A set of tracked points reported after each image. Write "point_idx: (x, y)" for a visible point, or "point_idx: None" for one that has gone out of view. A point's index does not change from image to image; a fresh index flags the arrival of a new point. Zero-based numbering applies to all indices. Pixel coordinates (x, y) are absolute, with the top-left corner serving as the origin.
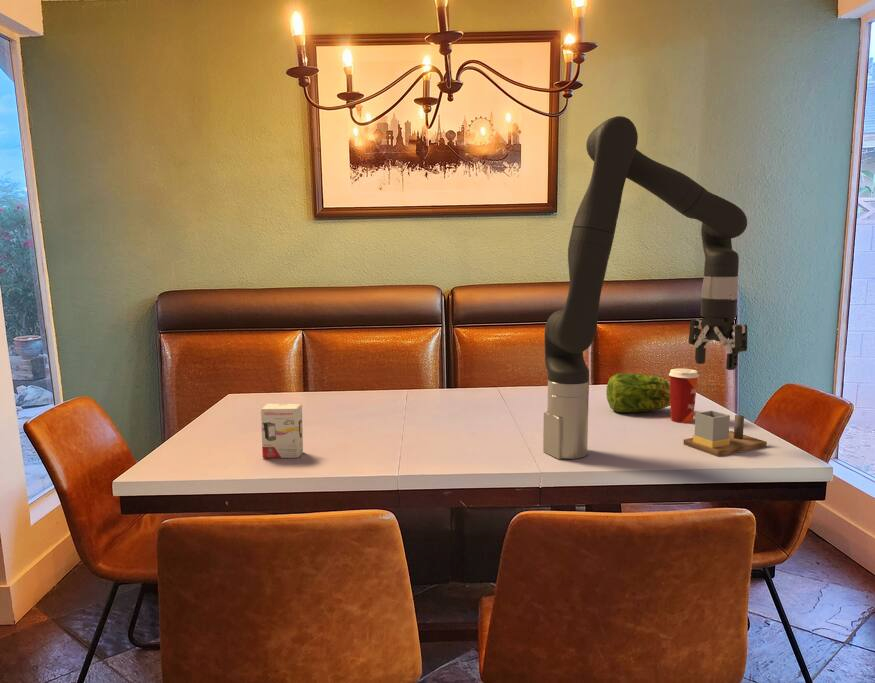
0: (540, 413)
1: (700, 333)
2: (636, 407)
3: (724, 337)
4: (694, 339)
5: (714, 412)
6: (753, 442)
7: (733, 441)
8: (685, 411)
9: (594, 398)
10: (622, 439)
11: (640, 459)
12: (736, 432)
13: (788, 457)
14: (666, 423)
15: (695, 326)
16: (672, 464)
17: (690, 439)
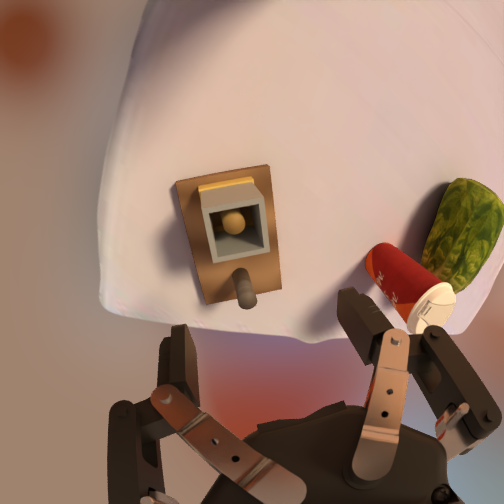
0: (480, 74)
1: (428, 401)
2: (439, 208)
3: (204, 457)
4: (429, 358)
5: (255, 249)
6: (208, 282)
7: None
8: (378, 265)
9: None
10: (337, 71)
11: (210, 24)
12: (239, 275)
13: (148, 294)
14: (381, 223)
15: (462, 412)
16: (161, 65)
17: (263, 179)
